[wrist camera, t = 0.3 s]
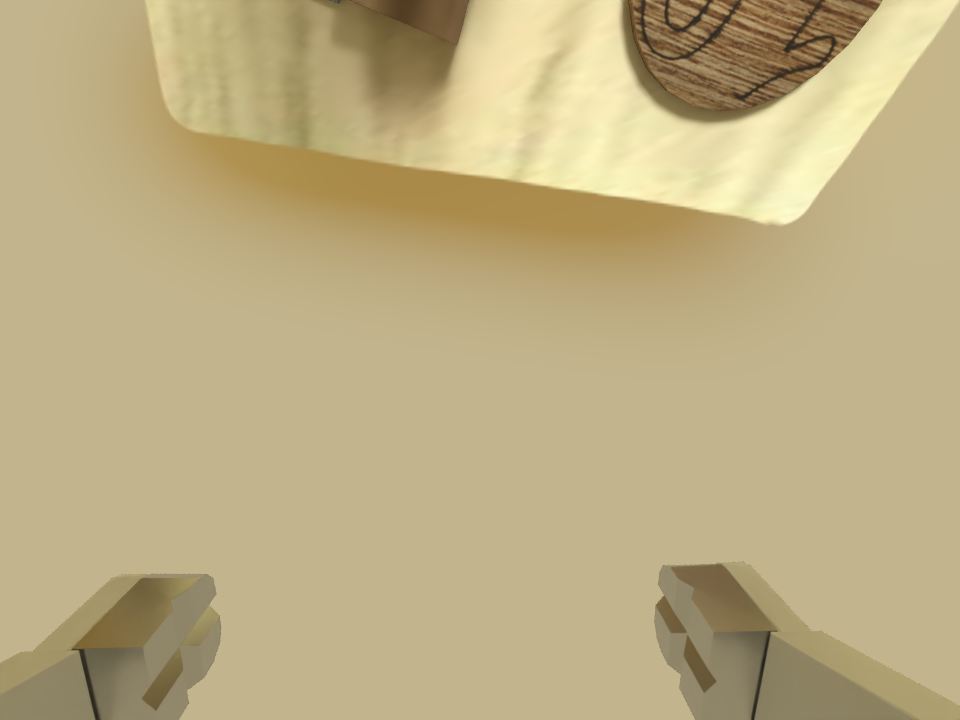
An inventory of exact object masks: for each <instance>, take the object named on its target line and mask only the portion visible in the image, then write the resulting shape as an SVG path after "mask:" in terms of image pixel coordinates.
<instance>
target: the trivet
mask: <svg viewBox="0 0 960 720" xmlns="http://www.w3.org/2000/svg"><path fill="white" fill-rule="evenodd" d="M628 1H629V8H630V15H631V23H632V30H633V37H634V40H635V42H636V45H637V47H638V49H639V52H640V54H641V57H642V59H643V61H644V64H645V66H646V68H647V69H648V70H649V72H650V73H651V74H652V75H653V76H654V77H655V79H656V80H657V81H658V82H659V83H660V84H661V86H662V87H663V88H664V89H665V90H666V91H668V92H670V93H671V94H673V95H675V96H677V97H679V98H680V99H682V100H684V101H686V102H687V103H689V104H691V105H693V106H697V107H702V108H708V109H713V110H719V111H724V110H732V109H741V108H749V107H753V106H756V105H759V104H761V103H764V102H766V101H769V100H772V99H774V98H777V97H779V96H782V95H784V94H786V93H787V92H789V91H791V90H792V89H794V88H795V87H797V86H798V85H800V84H802V83H803V82H805V81H806V80H808V79H809V78H811V77H813V76H814V75H816V74H817V73H818V72H819V71H820V70H821V69H823V68H824V67H825V66H826V65H827V64H828V63H829V62H830V61H831V60H832V59H833V58H835V57H836V56H837V55H838V54H839V53H840V52H841V51H842V50H843V49H844V48H845V47H847V46H848V45H849V44H850V42H851V41H852V40H853V39H854V37H855V36H856V35H857V34H858V32H859V31H860V30H861V29H862V27H863V26H864V25H865V23H866V22H867V21H868V20H869V18H870V17H871V16H872V15H873V13H874V12H875V11H876V10H877V8H878V7H879V5H880V4H881V2H882V0H628Z"/></svg>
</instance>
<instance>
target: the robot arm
mask: <svg viewBox="0 0 960 720" xmlns="http://www.w3.org/2000/svg"><path fill="white" fill-rule="evenodd" d="M658 585H659V587H660V589H661V590H662V592H663V594H664V596H663V597H662V599H661V600H660V601H659V602H658V603H657V604H656V607H655V621H654V622H655V628H656V636H657V640H658V643H659V646H660V649H661V652H662V654H663V656H664V658H665V660H666V662H667V664H668V665H669V666H671V667H672V668H673V669H674V670H676V671H677V672H678V673H680V674H681V679H680V687H679V688H680V690H681V692H682V694H683V696H684V698H685V700H686V702H687V704H688V706H689V708H690V710H691V712H692V714H693V716H694V718H695V720H960V705H957V704H956V703H954V702H952V701H950V700H948V699H946V698H945V697H942V696H941V695H939V694H937V693H935V692H933V691H932V690H930V689H928V688H926V687H924V686H922V685H921V684H919V683H917V682H915V681H913V680H911V679H909V678H907V677H906V676H904V675H902V674H900V673H898V672H896V671H894V670H893V669H891V668H889V667H887V666H885V665H883V664H882V663H880V662H878V661H876V660H874V659H872V658H871V657H869V656H867V655H865V654H863V653H861V652H859V651H857V650H856V649H854V648H852V647H850V646H848V645H846V644H845V643H843V642H841V641H839V640H837V639H835V638H833V637H832V636H830V635H828V634H826V633H824V632H822V631H811V629H809V628H808V626H807V625H806V624H805V623H804V622H803V621H802V620H801V619H800V618H799V617H798V616H797V614H795V612H794V611H793V610H792V609H791V608H790V607H789V606H788V605H787V604H786V603H785V602H784V600H783V599H782V598H781V597H780V596H779V595H778V594H777V593H776V592H775V591H774V590H773V589H772V588H771V587H770V586H769V584H768V583H767V582H766V581H765V580H764V579H763V578H762V577H761V576H760V575H759V574H758V573H757V572H756V570H755V569H754V568H753V567H752V566H751V565H749V564H747V563H745V562H728V563H717V564H699V565H698V564H697V565H696V564H695V565H663V566H662V568H661V571H660V573H659V581H658ZM215 595H216V590H215V585H214V580H213V578H212V577H211V576H209V575H207V574H150V575H148V574H122V575H119V576H117V577H114V578H111V580H109V581H108V582H107V583H106V584H105V585H104V586H103V587H102V588H100V589H99V590H98V591H97V592H96V593H95V594H94V595H93V596H92V597H91V598H90V599H89V600H87V601H86V602H85V603H84V604H83V605H82V606H81V607H80V608H79V609H78V610H77V611H76V612H74V613H73V614H72V615H71V616H70V617H69V618H68V619H67V620H66V621H65V622H64V623H62V624H61V625H60V626H59V627H58V628H57V629H56V630H55V631H54V632H53V633H52V634H51V635H50V636H48V637H47V638H46V639H45V640H44V641H43V642H42V643H41V644H40V645H39V646H37V647H36V648H35V649H34V650H33V651H32V652H20V653H18V654H16V655H14V656H13V657H10V658H9V659H7V660H5V661H3V662H1V663H0V720H179V718H180V717H181V715H182V714H183V712H184V710H185V709H186V707H187V705H188V704H189V701H188V694H187V690H188V689H190V688H191V687H192V686H193V685H195V684H196V683H198V682H199V681H200V680H202V679H203V678H204V677H205V676H206V674H207V672H208V670H209V669H210V667H211V665H212V664H213V662H214V659H215V656H216V653H217V650H218V646H219V643H220V636H221V623H220V616H219V614H218V613H217V612H216V611H215V610H214V609H213V608H212V607H211V606H210V605H209V604H210V603H211V601H212V600H213V598H214V597H215Z"/></svg>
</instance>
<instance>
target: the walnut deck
mask: <svg viewBox="0 0 960 720" xmlns="http://www.w3.org/2000/svg"><path fill="white" fill-rule="evenodd" d="M350 1H353V2H355V3H357V4H360V5H362V6H365V7H367V8H369V9H372V10H374V11H377V12H379V13H381V14H384V15H386V16H389V17H391V18H393V19H396V20H398V21H401V22H403V23H405V24H408V25H410V26H413V27H415V28H417V29H420V30H422V31H424V32H427V33H429V34H432V35H434V36H436V37H439V38H441V39H444V40H446V41H448V42H451V43H453V44H456V45H457V44H458V40H459V36H460V32H461V28H462V25H463V21H464V17H465V13H466V9H467V5H468V2H469V0H350Z"/></svg>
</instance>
